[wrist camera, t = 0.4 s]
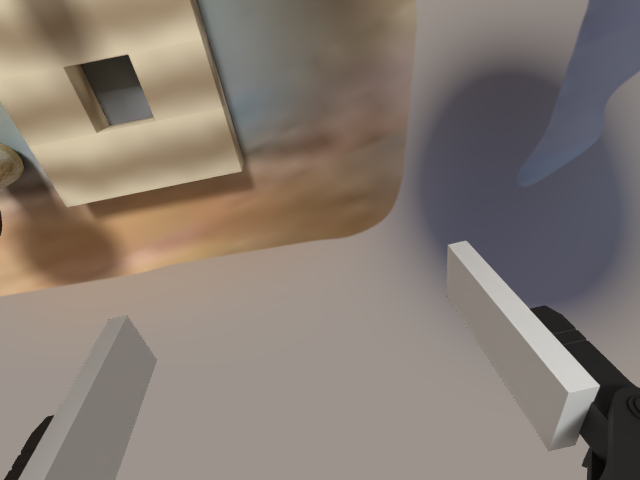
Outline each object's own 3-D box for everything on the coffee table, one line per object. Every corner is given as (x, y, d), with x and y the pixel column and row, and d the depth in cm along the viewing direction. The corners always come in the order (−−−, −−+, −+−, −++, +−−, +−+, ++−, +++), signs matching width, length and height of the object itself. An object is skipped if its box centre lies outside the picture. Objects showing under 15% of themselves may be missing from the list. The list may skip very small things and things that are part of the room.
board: (-38, -6, 28) (-69, -10, 25) (181, -49, 28) (172, -57, 25) (80, 195, 37) (66, 207, 35) (244, 162, 37) (242, 171, 35)
